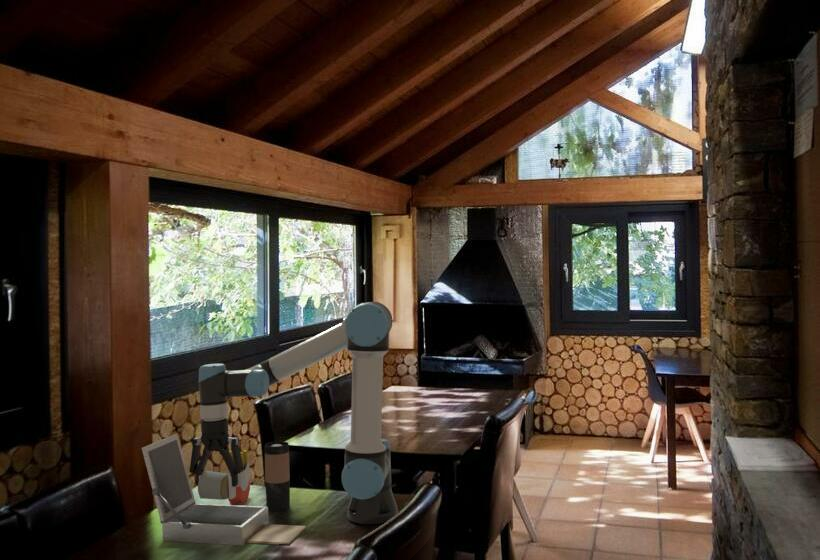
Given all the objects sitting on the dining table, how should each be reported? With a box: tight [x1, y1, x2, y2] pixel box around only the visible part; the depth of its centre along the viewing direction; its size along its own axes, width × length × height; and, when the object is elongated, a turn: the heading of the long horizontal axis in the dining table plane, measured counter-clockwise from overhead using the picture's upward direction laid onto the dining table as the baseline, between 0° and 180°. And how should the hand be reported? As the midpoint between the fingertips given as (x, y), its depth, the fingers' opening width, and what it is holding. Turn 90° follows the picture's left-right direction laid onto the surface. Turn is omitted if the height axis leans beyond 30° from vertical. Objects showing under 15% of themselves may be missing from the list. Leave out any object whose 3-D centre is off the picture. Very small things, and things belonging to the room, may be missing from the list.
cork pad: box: [247, 523, 307, 545], centre depth 194 cm, size 12×13×1 cm
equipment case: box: [141, 433, 269, 546], centre depth 198 cm, size 30×18×26 cm, turn 78°
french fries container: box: [226, 449, 251, 505], centre depth 226 cm, size 5×11×18 cm, turn 178°
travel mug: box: [264, 441, 291, 512], centre depth 219 cm, size 8×8×20 cm
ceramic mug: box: [197, 470, 229, 501], centre depth 199 cm, size 11×8×8 cm
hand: (217, 497), depth 198 cm, fingers closed on ceramic mug, 8 cm apart
